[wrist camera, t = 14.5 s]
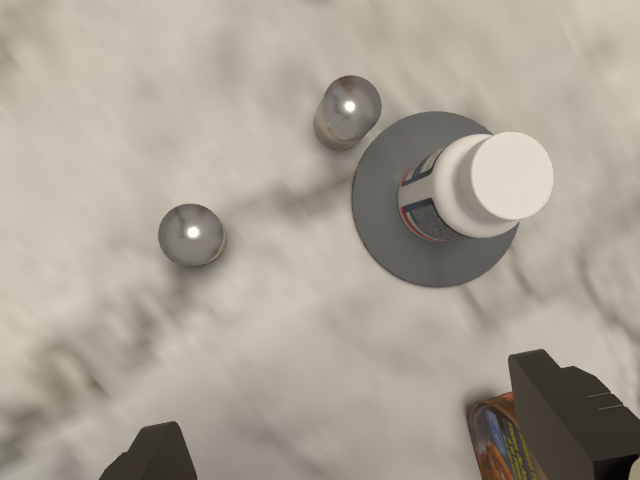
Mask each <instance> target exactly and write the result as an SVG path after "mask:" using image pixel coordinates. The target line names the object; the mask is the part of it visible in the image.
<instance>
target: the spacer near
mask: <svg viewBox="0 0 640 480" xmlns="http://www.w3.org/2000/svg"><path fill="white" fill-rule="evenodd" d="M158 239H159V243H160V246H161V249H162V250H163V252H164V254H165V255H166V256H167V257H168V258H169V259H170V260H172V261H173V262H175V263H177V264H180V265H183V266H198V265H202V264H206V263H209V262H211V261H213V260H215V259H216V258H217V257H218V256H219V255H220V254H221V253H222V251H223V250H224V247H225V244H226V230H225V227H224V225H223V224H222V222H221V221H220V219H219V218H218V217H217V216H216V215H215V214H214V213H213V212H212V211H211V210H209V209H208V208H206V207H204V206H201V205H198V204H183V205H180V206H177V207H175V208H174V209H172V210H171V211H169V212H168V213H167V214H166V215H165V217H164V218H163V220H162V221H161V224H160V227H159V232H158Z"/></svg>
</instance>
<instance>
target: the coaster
mask: <svg viewBox="0 0 640 480" xmlns="http://www.w3.org/2000/svg"><path fill="white" fill-rule="evenodd" d="M475 134H488V135H493V134H492V133H491V132H490V131H488V130H487V129H486V128H485V127H483V126H482V125H480V124H478V123H477V122H475V121H473V120H471V119H469V118H466V117H464V116H461V115H457V114H454V113H448V112H424V113H418V114H414V115H411V116H408V117H406V118H403V119H401V120H399V121H397V122H396V123H394V124H392V125H391V126H389V127H388V128H387V129H386V130H384V131H383V132H382V133H381V134H380V135H378V137H377V138H376V139H375V140H374V141H373V142H372V143H371V144H370V146H369V147H368V148H367V150H366V151H365V153H364V155H363V156H362V158H361V160H360V162H359V165H358V167H357V170H356V173H355V177H354V181H353V188H352V209H353V215H354V220H355V224H356V227H357V230H358V232H359V235H360V237H361V239H362V241H363V243H364V244H365V246H366V248H367V249H368V251H369V252H370V253H371V254H372V256H373V257H374V258H375V259H376V260H377V261H378V262H379V263H380V264H381V265H382V266H383V267H384V268H386V269H387V270H388V271H390V272H391V273H392V274H394V275H396V276H398V277H400V278H402V279H404V280H406V281H409V282H412V283H415V284H420V285H424V286H432V287H449V286H454V285H460V284H463V283H466V282H469V281H471V280H473V279H475V278H477V277H479V276H481V275H482V274H484V273H485V272H487V271H488V270H490V269H491V268H492V267H493V266H494V265H495V264H496V263H497V262H498V261H499V260H500V259H501V258H502V256H503V255H504V254H505V253H506V251H507V249H508V248H509V246H510V245H511V243H512V241H513V239H514V237H515V234H516V231H517V228H518V225H519V222H518V223H517V224H516V225H515V226H514V227H513V228H511V229H510V230H508V231H507V232H505V233H503V234H500V235H497V236H494V237H489V238H481V239H467V240H456V241H447V242H435V241H430V240H426V239H424V238H421V237H420V236H418V235H416V234H415V233H414V232H412V231H411V230H410V229H409V228H408V226H407V225H406V224H405V222H404V221H403V219H402V217H401V214H400V211H399V207H398V190H399V186H400V183H401V181H402V179H403V177H404V175H405V174H406V172H407V171H408V170H409V169H410V168H411V167H412V166H413V165H414V164H416V163H417V162H419V161H420V160H422V159H424V158H425V157H427V156H429V155H431V154H432V153H434V152H436V151H438V150H439V149H441V148H443V147H445V146H447V145H448V144H450V143H452V142H454V141H456V140H458V139H460V138H463V137H466V136H469V135H475Z"/></svg>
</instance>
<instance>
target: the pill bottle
mask: <svg viewBox="0 0 640 480" xmlns="http://www.w3.org/2000/svg"><path fill="white" fill-rule="evenodd" d="M553 180H554V176H553V167H552V164H551V161H550V158H549V156H548V155H547V153H546V151H545V150H544V148H543V147H542V146H541V145H540V144H539V143H538V142H537V141H536V140H534V139H533V138H531V137H529V136H527V135H525V134H522V133H518V132H503V133H498V134H496V135H488V134H475V135H469V136H466V137H463V138H460V139H458V140H456V141H454V142H452V143H450V144H448V145H447V146H445V147H443V148H441V149H439V150H438V151H436V152H434V153H432V154H431V155H429V156H427V157H425V158H424V159H422V160H420V161H419V162H417V163H416V164H414V165H413V166H412V167H411V168H410V169H409V170H408V171H407V172H406V174H405V175H404V177H403V179H402V181H401V183H400V186H399V190H398V207H399V211H400V214H401V217H402V219H403V221H404V222H405V224H406V225H407V226H408V228H409V229H410V230H411V231H412V232H414V233H415V234H416V235H418V236H420V237H421V238H424V239H426V240H430V241H435V242H447V241H456V240H467V239H481V238H489V237H494V236H497V235H500V234H503V233H505V232H507V231H508V230H510V229H511V228H513V227H514V226H515V225H516V224H517V223H518V222H519V221H520V220H522V219H525V218H528V217H530V216H532V215H534V214H535V213H537V212H538V211H539V210H540V209H541V208H542V207H543V206H544V205H545V203H546V202H547V200H548V198H549V196H550V194H551V191H552V187H553Z"/></svg>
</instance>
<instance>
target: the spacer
mask: <svg viewBox="0 0 640 480" xmlns="http://www.w3.org/2000/svg"><path fill="white" fill-rule="evenodd" d="M380 114H381V99H380V96H379V93H378V91H377V90H376V88H375V87H374V86H373V85H372V84H371V83H370V82H369V81H367V80H366V79H364V78H362V77H358V76H344V77H341V78H339V79H337V80H335V81H334V82H333V83H332V84H331V85H330V86H329V87H328V89H327V91H326V93H325V95H324V97H323V99H322V101H321V103H320V105H319V107H318V110H317V112H316V114H315V117H314V130H315V133H316V135H317V137H318V139H319V140H320V141H321V142H322V143H323V144H324V145H325V146H327V147H329V148H331V149H335V150H345V149H349V148H351V147H353V146H354V145H355V144H357V143H358V142H359V141H360V140H361V138H362V137H363V136H364V135H365V134H366V133H367V132H368V131H369V130H370V129H371V128H372V127H373V126H374V125H375V124H376V123H377V121H378V119H379V117H380Z"/></svg>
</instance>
